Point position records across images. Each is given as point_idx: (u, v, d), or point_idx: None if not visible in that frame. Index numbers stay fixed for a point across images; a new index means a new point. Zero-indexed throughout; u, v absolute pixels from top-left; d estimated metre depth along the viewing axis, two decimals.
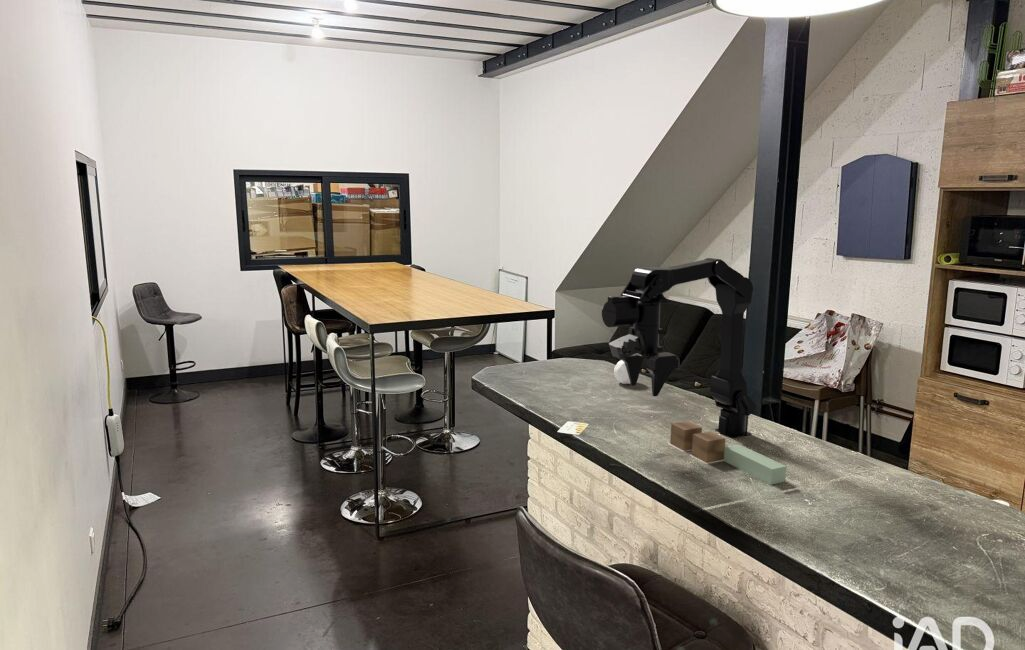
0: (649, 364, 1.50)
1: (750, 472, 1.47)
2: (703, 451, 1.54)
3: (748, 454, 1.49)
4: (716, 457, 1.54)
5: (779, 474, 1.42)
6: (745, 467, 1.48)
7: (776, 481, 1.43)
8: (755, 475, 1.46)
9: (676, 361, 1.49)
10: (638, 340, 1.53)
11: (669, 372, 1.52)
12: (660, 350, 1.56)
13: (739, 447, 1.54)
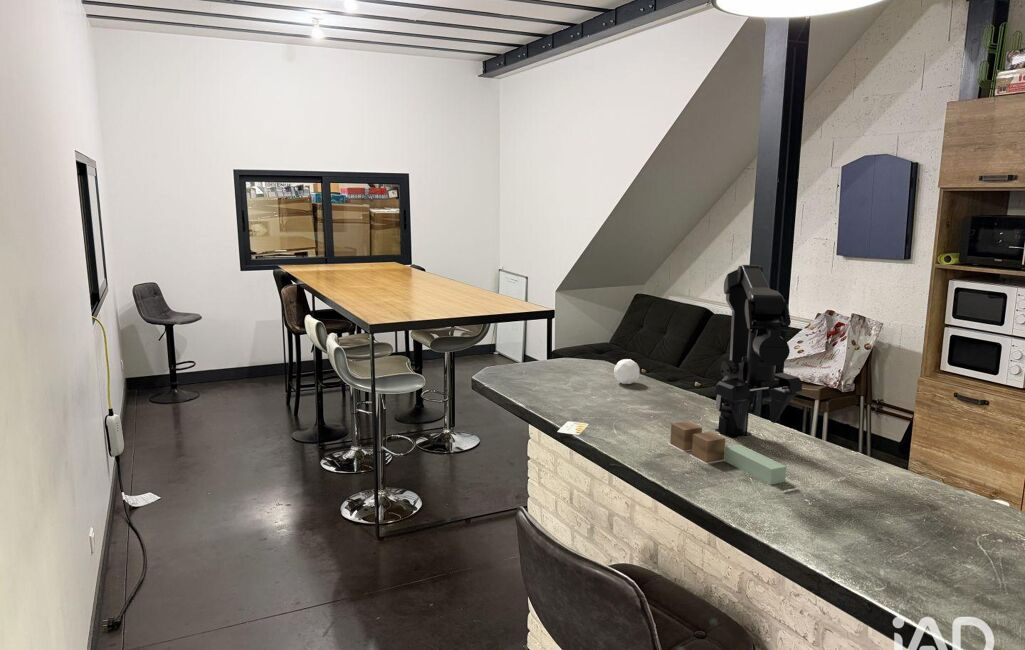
0: None
1: (750, 472, 1.47)
2: (703, 451, 1.54)
3: (748, 454, 1.49)
4: (716, 457, 1.54)
5: (778, 474, 1.42)
6: (745, 467, 1.48)
7: (776, 481, 1.42)
8: (755, 475, 1.46)
9: (730, 392, 1.40)
10: (741, 365, 1.47)
11: (741, 405, 1.42)
12: (759, 384, 1.42)
13: (740, 447, 1.54)
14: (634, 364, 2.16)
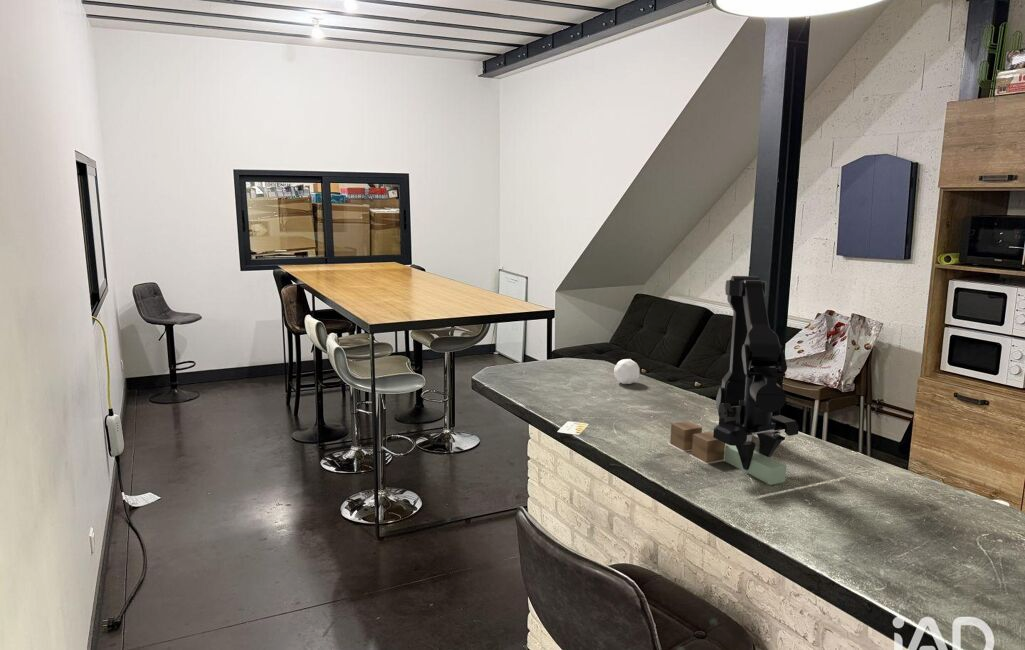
0: None
1: (750, 471, 1.47)
2: (703, 451, 1.54)
3: None
4: (716, 457, 1.54)
5: (778, 473, 1.42)
6: None
7: (776, 481, 1.42)
8: (755, 474, 1.46)
9: (728, 437, 1.42)
10: (738, 409, 1.49)
11: (747, 448, 1.44)
12: (756, 429, 1.44)
13: None
14: (634, 364, 2.16)
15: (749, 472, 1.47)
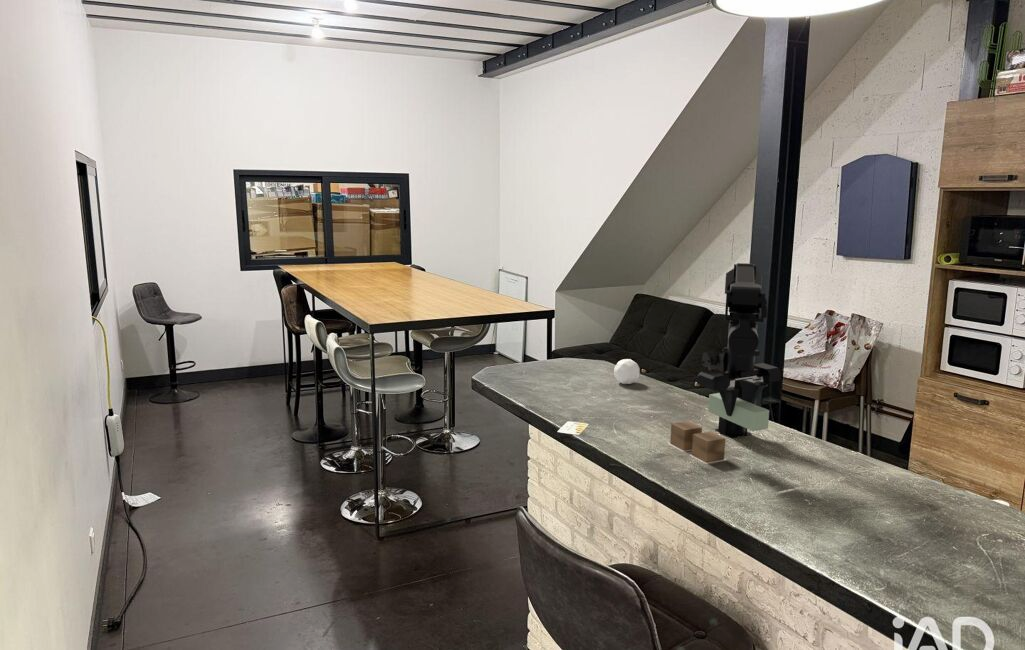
0: None
1: (734, 417, 1.49)
2: (703, 451, 1.54)
3: None
4: (716, 457, 1.54)
5: (762, 418, 1.44)
6: None
7: (759, 425, 1.44)
8: (738, 420, 1.48)
9: (711, 382, 1.43)
10: None
11: (730, 394, 1.46)
12: (739, 375, 1.46)
13: None
14: (634, 364, 2.16)
15: (733, 418, 1.49)
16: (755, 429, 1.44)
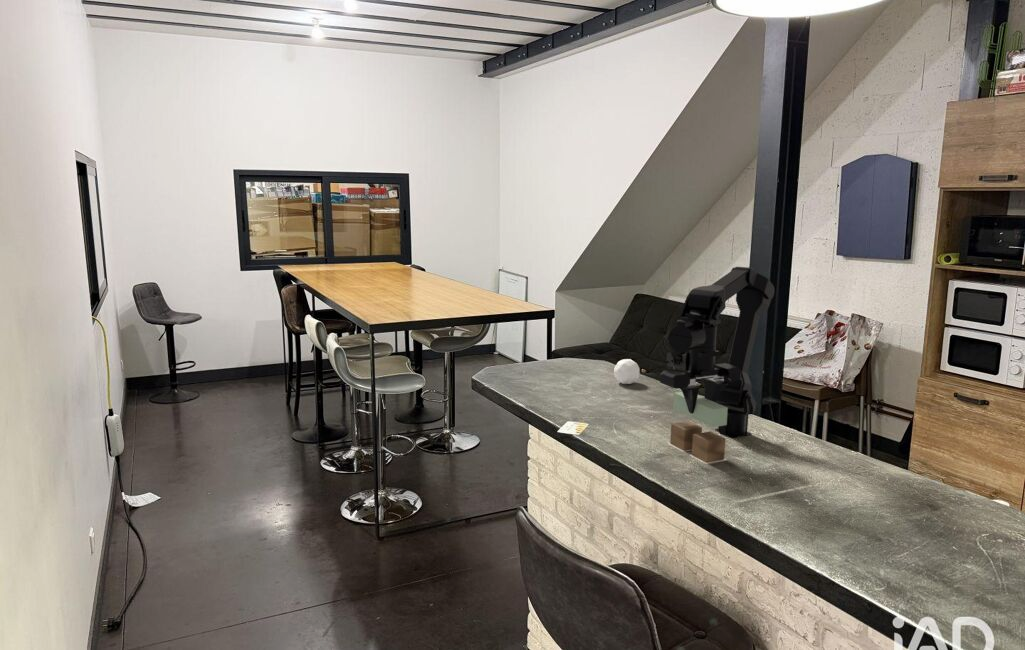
0: None
1: (695, 414, 1.56)
2: (703, 451, 1.54)
3: None
4: (716, 457, 1.54)
5: (720, 414, 1.52)
6: None
7: (718, 421, 1.52)
8: (699, 417, 1.55)
9: (672, 380, 1.51)
10: (684, 356, 1.58)
11: (691, 392, 1.54)
12: (699, 374, 1.53)
13: None
14: (634, 364, 2.16)
15: (694, 415, 1.57)
16: (714, 425, 1.52)
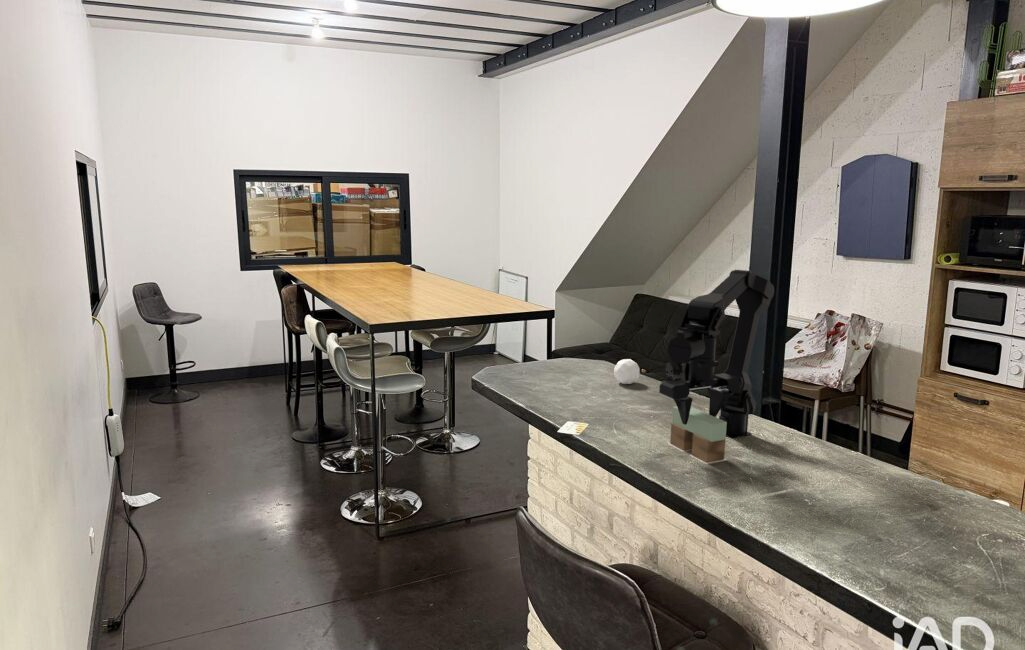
0: None
1: (694, 429, 1.57)
2: (703, 451, 1.54)
3: (693, 412, 1.59)
4: (716, 457, 1.54)
5: (719, 429, 1.52)
6: (690, 424, 1.58)
7: (717, 436, 1.52)
8: (698, 431, 1.56)
9: (671, 391, 1.52)
10: None
11: (684, 403, 1.53)
12: (698, 384, 1.54)
13: None
14: (634, 364, 2.16)
15: (693, 429, 1.57)
16: (713, 440, 1.52)
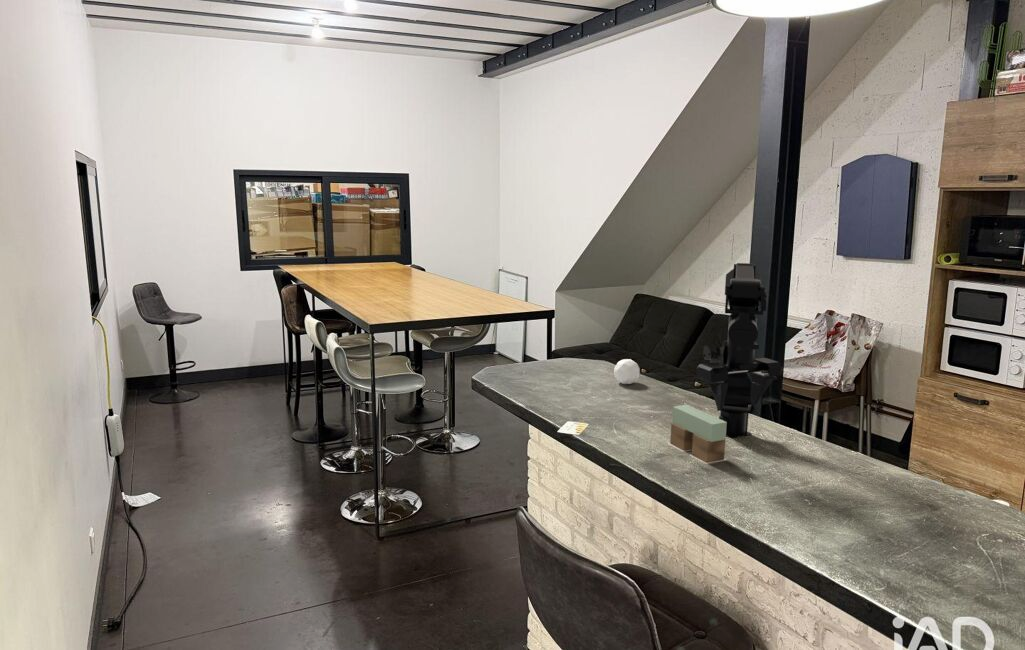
0: None
1: (694, 429, 1.57)
2: (703, 451, 1.54)
3: (693, 412, 1.59)
4: (716, 457, 1.54)
5: (719, 429, 1.52)
6: (690, 424, 1.58)
7: (717, 436, 1.52)
8: (698, 431, 1.56)
9: (709, 374, 1.46)
10: None
11: (720, 387, 1.47)
12: (737, 367, 1.48)
13: (687, 406, 1.64)
14: (634, 364, 2.16)
15: (693, 429, 1.57)
16: (713, 440, 1.52)
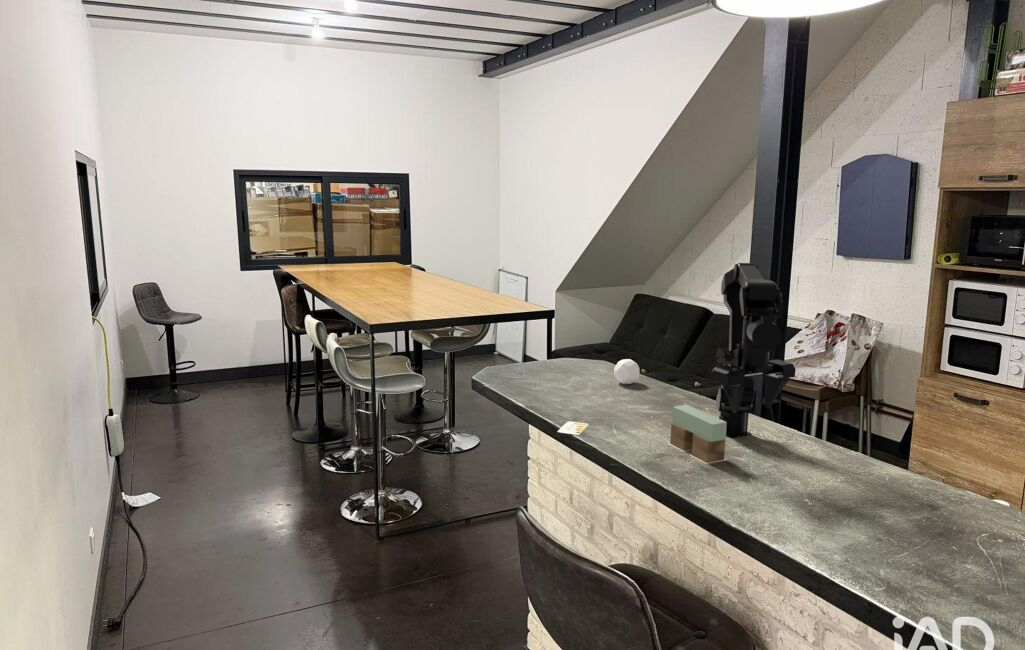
0: None
1: (694, 429, 1.57)
2: (703, 451, 1.54)
3: (693, 412, 1.59)
4: (716, 457, 1.54)
5: (719, 429, 1.52)
6: (690, 424, 1.58)
7: (717, 436, 1.52)
8: (698, 431, 1.56)
9: (726, 377, 1.44)
10: (736, 352, 1.51)
11: (736, 390, 1.46)
12: (753, 370, 1.46)
13: (687, 406, 1.64)
14: (634, 364, 2.16)
15: (693, 429, 1.57)
16: (713, 440, 1.52)
